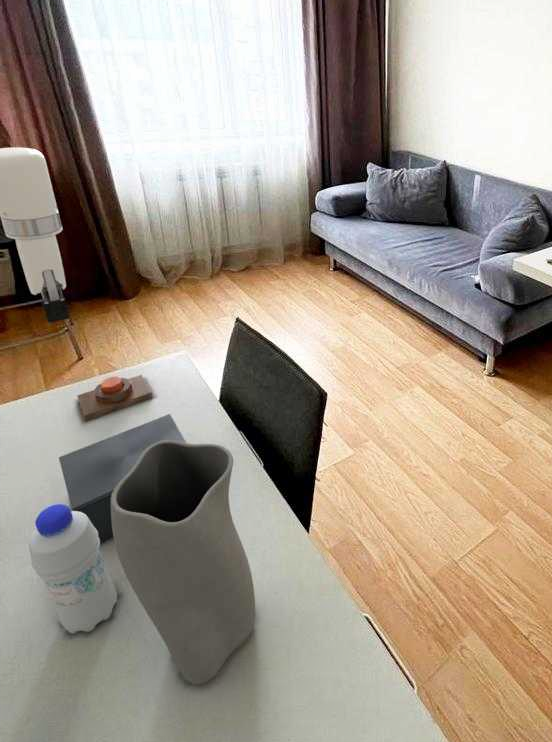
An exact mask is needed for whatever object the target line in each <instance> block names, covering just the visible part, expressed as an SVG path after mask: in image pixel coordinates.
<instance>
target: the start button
mask: <svg viewBox="0 0 552 742" xmlns="http://www.w3.org/2000/svg"><path fill="white" fill-rule="evenodd" d="M121 378H122V377H120V376H111V377H108V378H105V379H104V380H102V381H101V383H100V384H101V387H102V390H103V392H104V393H113V392H116V391H119V390H120V389H122V388H123V384H122V380H121Z"/></svg>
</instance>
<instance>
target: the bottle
mask: <svg viewBox="0 0 552 742" xmlns="http://www.w3.org/2000/svg"><path fill="white" fill-rule="evenodd" d="M70 508H71V507H69V506H68V505H66V504H64V503H57V504H51V505H49V506H47V507H46V508H44V509H43V510H42V511H41V512H40V513H39V514H38V515H37V517H36V518H35V527H36V528H35V530H34V531H33V532H32V533H31V535H30V538H29V541H28V549H29V554H30V560H31V567H32V568H33V569H34V570H35V573H36V575H37V576H38V577H39V578H40V579H43V581H44V583H45V586H46V588H47V591H48V592H49V595H50V597H51V600H52V601H53V603H54V604H53V605H54V608H55V610H56V611H55V612H56V614H57V616H58V617H57V618H58V620H59V622H60V624H61V626H62V627H63V628H64V629H65V630H66V631H67V632H69V633H70V634H76V633H78V632H81V631H82V632H86V633H89V632H91V631H93V630H95V628H96V626H97V625H98V624H99V623H100V622H102V621H107V620H108V619H109V618H110V617H111V615H112V611H113V608H114V606H115V605H116V604H117V601H118V594H117V589H116V586H115V584H114V581H113V579H112V578H111V576H110V573H109V572H108V569H107V566H106V564H105V561H104V558H103V556H102V552H101V550H100V545H101V543H100V539H99V537H98V532H97V530H96V529H95V527H94V526H93V524H92V523H91V521H90V520H89V518H88V517H87V515H86V514H84V513H82V512H79V511H72V509H70Z"/></svg>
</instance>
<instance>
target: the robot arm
mask: <svg viewBox="0 0 552 742" xmlns="http://www.w3.org/2000/svg"><path fill="white" fill-rule="evenodd" d="M0 220H1V224H2V227H3V230H4V234H5V236H6V237H7V238H9V239H13V240H15V245H16V249H17V252H18V256H19V259H20V264H21V267H22V269H23V273H24V276H25V280H26V282H27V286H28V289H29V291H30V294H32V295H34V296H37V294H41V297H42V299H41V302H42V306H43V310H44V314H45V317H46V320H47V322H48V323H50V324H52V323H57V322H60V321H64V320H68V319H70V317H71V316H70V311H69V308H68V305H67V301H66V300H67V299H66V298H65V296H64V295H63V291H62V290H65V289H66V287H67V281H66V275H65V269H64V266H63V259H62V256H61V252H60V248H59V244H58V240H57V236H56V235H58V234H60V233H61V232H62V231H63V230H64V229H63V225H62V220H61V218H60V213H59V209H58V206H57V202H56V197H55V193H54V190H53V184H52V181H51V177H50V173H49V169H48V165H47V161H46V158H45V156H44V154H43V153H42V152H40V151H39V150H37V149H34V148H31V147H2V148H0Z"/></svg>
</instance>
